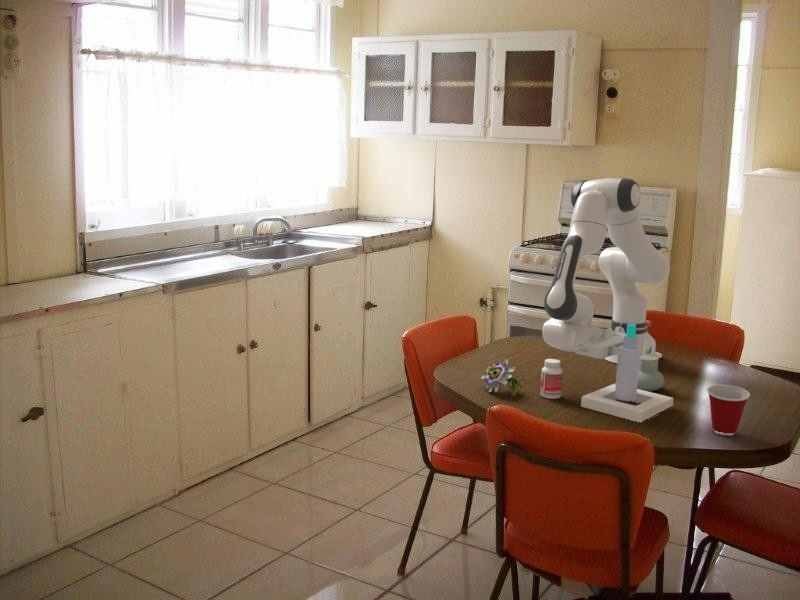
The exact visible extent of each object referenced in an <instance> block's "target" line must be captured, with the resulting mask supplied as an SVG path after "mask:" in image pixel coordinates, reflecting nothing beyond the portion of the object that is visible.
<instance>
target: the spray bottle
mask: <svg viewBox="0 0 800 600" xmlns="http://www.w3.org/2000/svg"><path fill="white" fill-rule="evenodd" d="M637 341H638V337H636V325H635V324H627V332H626V336H624V339H623V345H620V346H619V348H621V349H622V352H621V355H618V363H616V364H617V365H616V375H615V376H616V377H615V383H616V387H615V398H616V399H617V401H620V402H630V401H634V400H636V395H637V384H638V373H639V362H640V351H641V348H640V347H638V346H637Z"/></svg>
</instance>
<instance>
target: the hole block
mask: <svg viewBox="0 0 800 600" xmlns="http://www.w3.org/2000/svg"><path fill="white" fill-rule="evenodd" d="M615 387H616V382H615V383H613V384H610V385H608V386H605V387H602V388H600V389H597V390H595V391H593V392H590V393H587V394H584V395H582V396H581V401H580V407H582V408H585V409H589V410H593V411H597V412H600V413H603V414H608V415H611V416H614V417H619V418H621V419H624V418H625V420H628V419H629V421H632V422H635V421H636V423H639V422H640V423H639V424H641V422H642V423H644V422H645V421H644V420H646V419H648V420H650V419H651V418H650V417H652V416H654V415H656V414H657V413H659V412H661V411H664V410H665V409H667V408H669V407H671V406H673V405H674V397H672V396H671V397H670V396H666V395H664V394H661V393H659V394H658V393H656V392H655V393H654V392H653V391H644V390H640V389H637V395H636V400H634V401H632V403H634V402H636V403H635V404H637V405H634V404H630V403H626V402H623V401H620V400H618V399H616V398H615ZM638 403H641V404H638ZM673 407H674V406H673ZM656 416H657V415H656ZM654 417H655V416H654ZM649 418H650V419H649ZM652 418H653V417H652ZM643 421H644V422H643ZM646 421H647V420H646Z"/></svg>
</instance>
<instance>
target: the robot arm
mask: <svg viewBox="0 0 800 600" xmlns="http://www.w3.org/2000/svg"><path fill="white" fill-rule="evenodd" d="M640 201H641V189H640V185H639V184H638V183H637V182H636V181H635V180H634V179H633V178H632V179H631V178H625V177H624V178H617V177H616V178H613V177H612V178H611V177H605V178H599V179H590V180H588V179H585V180H580V181H577V182H575V184H574V185H573V187H572V188H571V191H570V203H571V205H572V207H573V211H572V215H571V219H570V224H569V225H570V226H569V230H568V234H567V237H566V238H565V240H564V241H563V243H562V246H561V249H560V252H559V256H558V260H557V263H556V267H555V271H554V273H553V277H552V282H551V284H550V286H549V287H548V290H547V291H546V293H545V296H544V301H543V306H544V309H545V312H546V314H547V315H548V316H549V317H550V318H549V319H547V320H546V321H545V322H544V323H543V325H542V339H543V340H544V342H545V344H547V345H548V346H549V347H553V348H555V349H556V350H557V349H558V350H561V351H565V352H574V353H576V354H577V355H581V356H585V357H589V358H593V359H596V360H597V359H598V360H603V359H604V360H606V361H608V362H611V363H615V364H618V355H621V352H622V349H621V348H619V346H620V345H623V339H624V336H626V332H627V324H635V325H636V337H638V341H637V346H638V347H640V348H641V351H640V356H644V355H647V356H654V357H657V358H658V360H660V359H661V358H662V357H663V353H660V352H657V351H656V349H657V348H656V345H657V344H656V343H657V342H656V340H655V338H654V337H653V336H651V334H650V333H649V332H648V327H651V325H652V320H646V319H647V318H646V317H647V309H648V308H647V307H648V301H647V298H646V296H645V295H644V294H643V293H642V292H641V291H640V289H638V286H637V284H636V283H638V284H639V283H640V284H646V285H654V284H662V283H663V282H665V281H666V280H667V278H668V277H669V274H670V270H671V265H670V260H669V259H668V258H667V257H666V256H665V255H664V254H663V253H661V252H660V251H658V250H657V248H656V247H655V246H654V244H652V243H651V241H650V239H649V237H647V235H646V232H645V230H644V227H643V223H642V219H641V214H640V212H639V211H640V210H639V207H638V206H639V203H640ZM607 232H608V235H609V237H608V238H609V240H610V241H611V243H612V244H613V245H614V247H613V246H612V247H606V248H605V249H604V250H602V252H601V253H600V255H599V258H598V269H599V271H600V272H601V273H602V274H603V275H604V277H605V278H606V280H607V282H608V284H609V286H610V289H611V293H612V301H613V303H612V304H613V305H612V318H611V320H610V327H596V326H591V324H592V320H593V318H594V315H595V309H596V308H595V307H596V306H595V304H594V301H593V300H592V299H591V298H590V297H589V296H586V295H584V294H583V293H580V292H577V291H576V289H575V281H576V278H577V277H576V276H577V272H578V268H579V264H580V262H581V260H582V259H583V258H584V257H585V256H590V255H593V254H595V253H598V252H599V251H600V250H601V249H602V247H603V245H604V243H605V240H606V235H607ZM659 358H660V359H659Z"/></svg>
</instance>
